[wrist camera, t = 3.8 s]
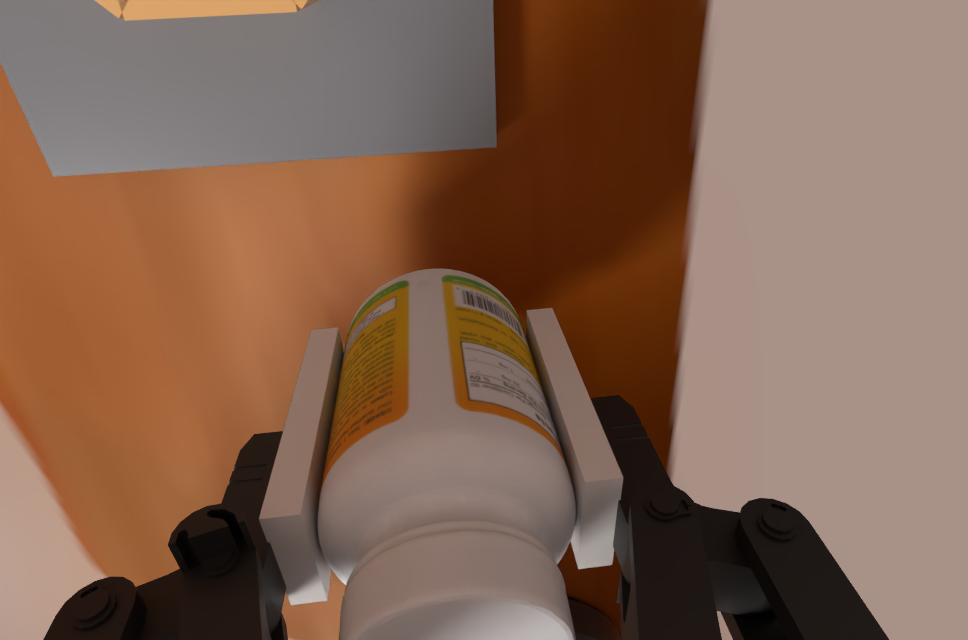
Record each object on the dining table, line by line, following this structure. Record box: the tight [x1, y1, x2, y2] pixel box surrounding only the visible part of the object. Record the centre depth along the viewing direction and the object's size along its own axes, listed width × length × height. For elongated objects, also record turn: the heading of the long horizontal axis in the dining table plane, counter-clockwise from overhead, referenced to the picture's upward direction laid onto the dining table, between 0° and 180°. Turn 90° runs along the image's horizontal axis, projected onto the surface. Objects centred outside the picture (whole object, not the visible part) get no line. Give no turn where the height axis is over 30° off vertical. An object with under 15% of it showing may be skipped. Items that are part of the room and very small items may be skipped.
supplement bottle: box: [317, 269, 576, 640], centre depth 13 cm, size 5×5×10 cm
